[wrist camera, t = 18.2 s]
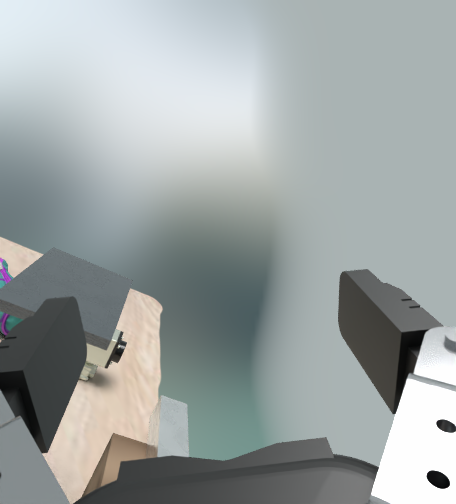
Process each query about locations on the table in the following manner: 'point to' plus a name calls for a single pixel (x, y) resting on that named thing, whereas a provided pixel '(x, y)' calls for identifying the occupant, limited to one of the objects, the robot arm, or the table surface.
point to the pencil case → (3, 320)
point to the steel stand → (70, 293)
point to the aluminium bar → (168, 429)
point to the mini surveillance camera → (103, 355)
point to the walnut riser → (115, 460)
